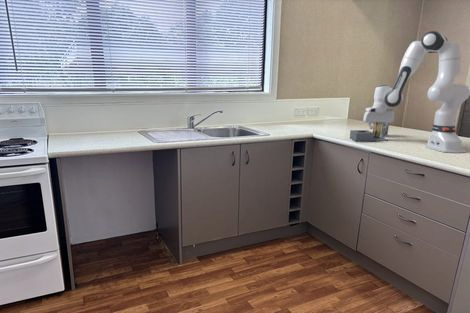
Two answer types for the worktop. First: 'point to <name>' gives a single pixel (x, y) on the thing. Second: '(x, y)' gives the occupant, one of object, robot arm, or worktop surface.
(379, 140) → the mat
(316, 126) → the worktop surface
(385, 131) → the coffee box
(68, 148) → the worktop surface
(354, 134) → the chuck block
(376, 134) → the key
